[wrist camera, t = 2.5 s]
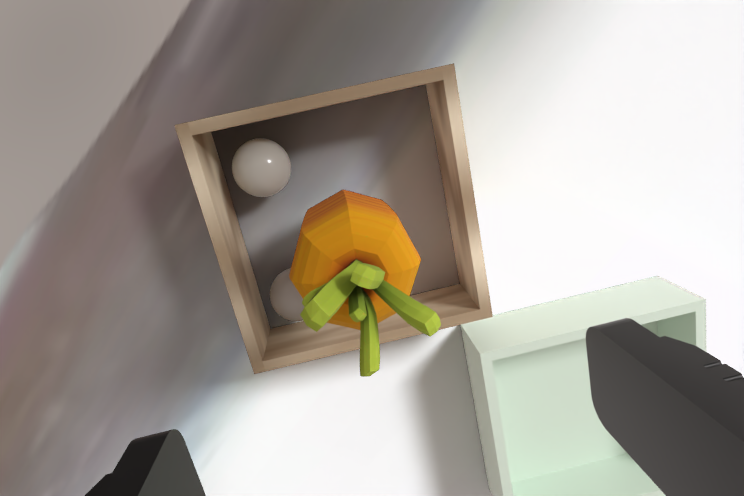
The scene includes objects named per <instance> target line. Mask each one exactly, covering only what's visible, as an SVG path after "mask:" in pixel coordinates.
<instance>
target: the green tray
mask: <svg viewBox="0 0 744 496" xmlns="http://www.w3.org/2000/svg"><path fill="white" fill-rule="evenodd" d="M624 318H630V319H632V320H634V321H636V322H637V323H639V324H640V325H642V326H643V327H645V328H646V329H648V330H649V331H651V332H652V333H654V334H656V335H657V336H659V337H662V336H667V337H670V338H673V339H677V340H680V341H683V342H686V343H689V344H692V345H695V346H697V347H699V348H700V349H702V350H704V351H705V352H706V299H704V298H702V297H700V296H698V295H696V294H694V293H692V292H690V291H688V290H686V289H684V288H682V287H680V286H678V285H676V284H674V283H672V282H670V281H667V280H665V279H663V278H661V277H659V276H655V277H651V278H647V279H643V280H638V281H634V282H630V283H626V284H622V285H618V286H613V287H609V288H605V289H601V290H597V291H593V292H588V293H584V294H580V295H576V296H572V297H568V298H563V299H559V300H555V301H551V302H547V303H543V304H538V305H534V306H530V307H526V308H522V309H518V310H513V311H509V312H505V313H501V314H497V315H493V317H490V318H486V319H482V320H478V321H474V322H469V323H465V324H461V325H460V326H461V331H462V337H463V343H464V348H465V354H466V360H467V366H468V371H469V377H470V383H471V388H472V394H473V400H474V406H475V411H476V417H477V423H478V428H479V434H480V440H481V446H482V451H483V457H484V463H485V469H486V474H487V480H488V486H489V490H490V492H491V494H492V496H666V495H665V494H664V493H663V492H662V491H661V490H660V489H659V488H658V486H657V485H656V484H655V483H654V482H653V481H652V480H651V479H650V478H649V476H648V475H647V474H646V473H645V472H644V471H643V470H642V469H641V468H640V467H639V465H638V464H637V463H636V462H635V461H634V460H633V459H632V458H631V457H630V456H629V454H628V453H627V452H626V451H625V450H624V449H623V448H622V447H621V446H620V444H619V443H618V442H617V441H616V440H615V439H614V438H613V437H612V436H611V435H610V433H609V432H608V431H607V430H606V429H605V428H604V426H603V425H602V423H601V421H600V419H599V418H598V415H597V413H596V411H595V408H594V405H593V401H592V396H591V387H590V377H589V368H588V358H587V348H586V331H587V329H588V328H589V327H592V326H596V325H600V324H604V323H608V322H612V321H616V320H620V319H624Z"/></svg>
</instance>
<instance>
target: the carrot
mask: <svg viewBox="0 0 744 496" xmlns="http://www.w3.org/2000/svg"><path fill="white" fill-rule="evenodd" d="M420 262H421V258H420V256H419V254H418V252H417V250H416V249H415V247H414V245H413V243H412V241H411V240H410V238H409V236H408V234H407V232H406V231H405V229H404V227H403V225H402V223H401V222H400V220H399V218H398V216H397V214H396V213H395V212H394V211H393V210H392V209H391V208H390V206H389V205H387V204H386V203H385V202H384V201H383V200H381V199H377V198H373V197H369V196H366V195H362V194H358V193H354V192H351V191H347V190H341V191H339V192H338V193H336V194H334V195H332V196H331V197H329V198H327V199H325V200H324V201H322V202H320V203H318V204H317V205H315V206H313V207H311V208H310V209H308V210H307V212H306V215H305V217H304V220H303V223H302V226H301V230H300V234H299V238H298V242H297V246H296V250H295V254H294V258H293V262H292V266H291V270H290V274H289V278H290V280H291V281H292V283H293V284H294V286H295V288H296V289H297V291H298V292H299V294H300V295H301V297H302V298H303V301H302V304H303V305H304V309H303V311H302V312H301V314H300V315H301V317H302V319H303V320H304V322H305V324H306V325H307V326H308V327H310V328H311V329H313V330H314V331H316V332H317V331H318V330H319V329H321V328H322V327H323V326H324V325H325V324H326V323H330V324H335V325H339V326H344V327H349V328H353V329H358V330H360V375H361V376H371V375H372V374H374V373H375V372H376V371H378V370H379V364H380V347H379V333H378V323H379V322H381V321H383V320H385V319H387V318H388V317H390V316H392V315H394V314H396V313H397V314H398V315H399V316H400V317H401V318H402V319H403V320H405V321H406V322H407V323H408V324H409V325H411V326H412V327H414V328H415V329H417V330H418V331H420V332H422V333H424V334H426V335H428V336H432V335H433V334H434V333H436V332H437V331H438V329H439V327H440V326H441V322H440V318H439V316H438V315H437V313H436V312H435V311H433V310H432V309H430V308H429V307H427V306H425V305H423V304H421V303H420V302H418V301H416V300H414V299H413V298H411V297H410V293H411V290H412V287H413V284H414V281H415V277H416V274H417V271H418V268H419V265H420Z"/></svg>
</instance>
